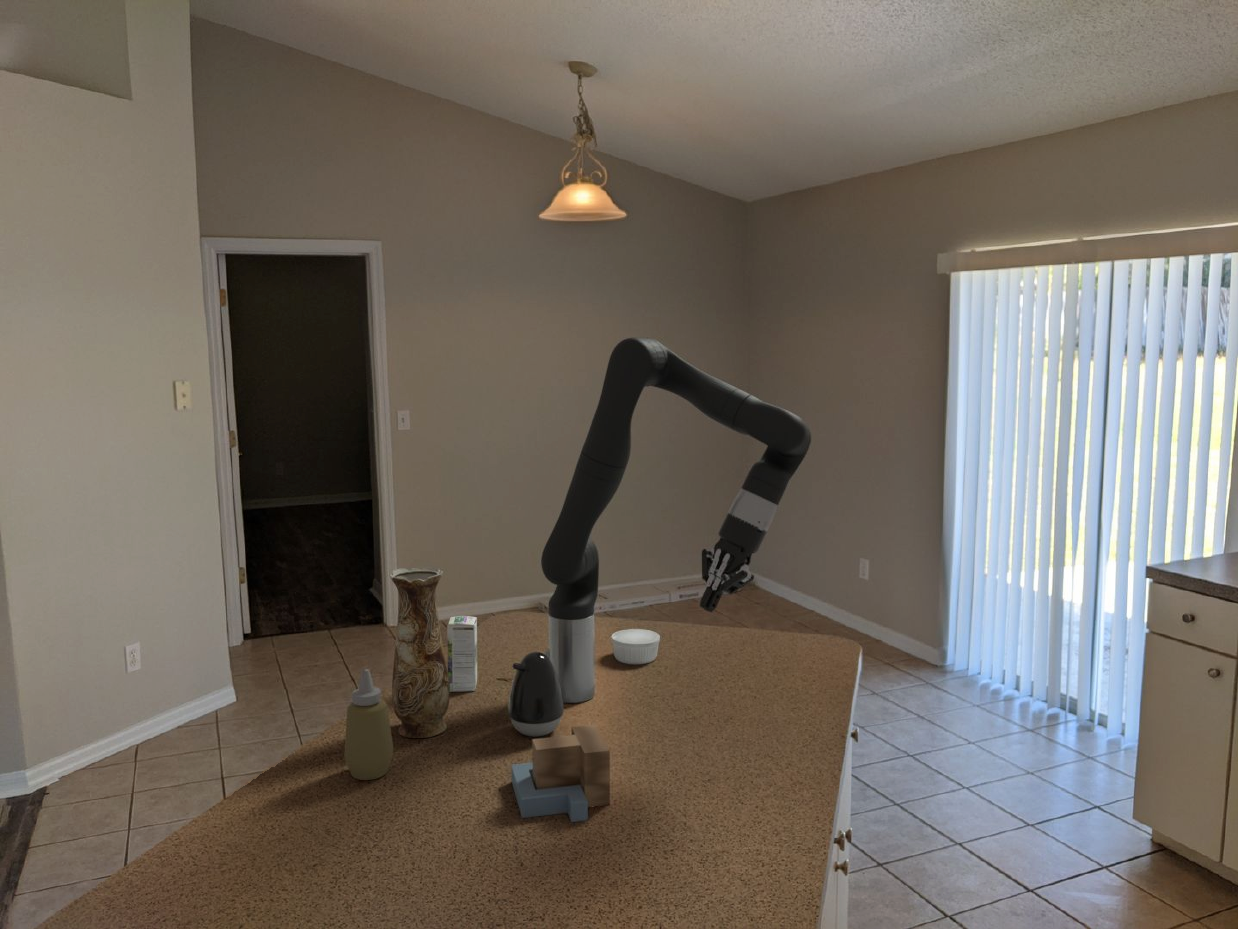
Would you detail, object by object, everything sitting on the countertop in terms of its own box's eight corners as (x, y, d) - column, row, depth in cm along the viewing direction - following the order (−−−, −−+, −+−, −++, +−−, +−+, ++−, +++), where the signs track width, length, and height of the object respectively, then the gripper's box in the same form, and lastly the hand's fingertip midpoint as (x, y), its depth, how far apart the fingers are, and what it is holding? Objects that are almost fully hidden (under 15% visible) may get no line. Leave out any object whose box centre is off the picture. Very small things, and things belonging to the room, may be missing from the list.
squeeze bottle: (403, 766, 159) (400, 665, 156) (376, 788, 151) (372, 682, 149) (363, 759, 161) (359, 659, 159) (334, 780, 154) (330, 676, 151)
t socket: (565, 767, 158) (565, 750, 158) (587, 820, 141) (587, 801, 141) (509, 773, 156) (508, 756, 156) (524, 828, 139) (524, 809, 138)
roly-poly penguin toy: (496, 731, 173) (495, 653, 170) (538, 715, 180) (537, 639, 178) (533, 748, 166) (532, 666, 164) (575, 730, 173) (574, 652, 171)
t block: (595, 776, 155) (595, 724, 154) (609, 805, 146) (609, 750, 145) (530, 783, 153) (529, 731, 151) (540, 814, 143) (539, 758, 142)
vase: (399, 744, 167) (393, 582, 163) (388, 722, 177) (383, 568, 173) (456, 734, 171) (452, 576, 167) (443, 713, 181) (438, 563, 177)
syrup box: (450, 682, 197) (448, 616, 195) (478, 681, 198) (477, 615, 196) (447, 692, 192) (445, 624, 190) (476, 691, 192) (475, 623, 190)
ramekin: (614, 649, 219) (614, 627, 218) (662, 651, 217) (662, 629, 216) (607, 665, 208) (607, 642, 207) (657, 668, 206) (657, 645, 205)
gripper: (711, 502, 166) (669, 590, 166) (757, 525, 155) (712, 618, 155) (739, 516, 170) (698, 601, 171) (786, 538, 159) (743, 630, 160)
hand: (705, 609), depth 163 cm, fingers closed
